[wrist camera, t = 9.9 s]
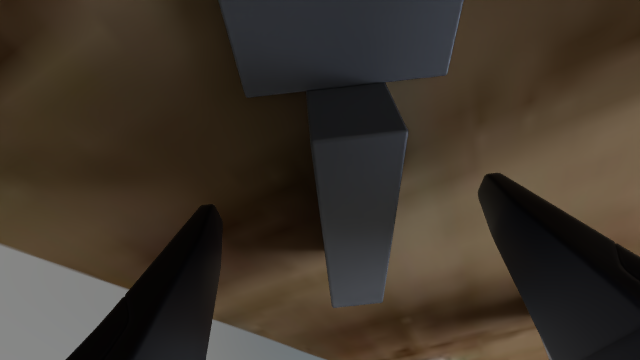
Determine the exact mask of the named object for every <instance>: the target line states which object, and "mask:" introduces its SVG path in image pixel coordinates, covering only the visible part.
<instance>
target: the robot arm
mask: <svg viewBox="0 0 640 360" xmlns="http://www.w3.org/2000/svg"><path fill="white" fill-rule="evenodd" d="M478 197H479V201H480V203H481V206H482V209H483V212H484V215H485V218H486V221H487V223H488V226H489V229H490V232H491V235H492V237H493V239H494V242H495V244H496V246H497V248H498V250H499V252H500V254H501V256H502V258H503V260H504V262H505V264H506V266H507V268H508V270H509V273H510V275H511V277H512V279H513V281H514V283H515V285H516V287H517V289H518V291H519V293H520V295H521V297H522V299H523V301H524V303H525V305H526V307H527V310H528V312H529V314H530V316H531V318H532V320H533V322H534V324H535V326H536V328H537V330H538V332H539V334H540V336H541V338H542V340H543V342H544V344H545V347H546V349H547V351H548V353H549V355H550V357H551V359H552V360H640V257H639V256H637V255H636V254H634V253H632V252H631V251H629V250H627V249H626V248H624V247H622V246H621V245H619V244H615V242H614V241H612V240H610V239H609V238H607V237H605V236H604V235H602V234H600V233H599V232H597V231H596V230H594V229H592V228H591V227H589V226H587V225H586V224H584V223H582V222H581V221H579V220H577V219H576V218H574V217H572V216H571V215H569V214H567V213H566V212H564V211H562V210H561V209H559V208H557V207H556V206H554V205H552V204H551V203H549V202H547V201H546V200H544V199H542V198H541V197H539V196H537V195H536V194H534V193H532V192H531V191H529V190H527V189H526V188H524V187H523V186H521V185H519V184H518V183H516V182H514V181H513V180H511V179H509V178H508V177H506V176H504V175H503V174H501V173H491V174H486V175H485V176H484V178H483V181H482V183H481V185H480V188H479V190H478ZM222 233H223V222H222V219H221V216H220V214H219V212H218V210H217V209H216V207H215V205H213V204H208V205H202V206H200V207H199V208H198V209H197V210H196V212H195V213H194V214H193V215H192V216H191V218H190V219H189V220H188V221H187V222H186V223H185V225H184V226H183V227H182V228H181V229H180V231H179V232H178V233H177V234H176V235H175V236H174V238H173V239H172V240H171V241H170V242H169V244H168V245H167V246H166V247H165V248H164V249H163V251H162V252H161V253H160V254H159V255H158V257H157V258H156V259H155V260H154V261H153V262H152V264H151V265H150V266H149V267H148V268H147V270H146V271H145V272H144V273H143V274H142V275H141V277H140V278H139V279H138V280H137V281H136V283H135V284H134V285H133V286H132V287H131V288H130V290H129V291H128V292H127V293H126V295H125V297H123V298H122V299H121V300H120V301H119V303H118V304H117V305H116V306H115V307H114V309H113V310H112V311H111V312H110V313H109V314H108V315H107V316H106V318H105V319H104V320H103V321H102V322H101V323H100V324H99V326H97V328H96V329H95V330H94V331H93V332H92V333H91V334H90V335H89V336H88V337H87V338H86V339H85V340H84V341H83V342H82V344H80V345H79V347H77V348H76V349H75V351H74V352H73V353H72V354H71V355H70V356H69V357H68V358H67V359H66V360H206V354H207V348H208V342H209V336H210V330H211V324H212V318H213V312H214V306H215V300H216V294H217V288H218V282H219V276H220V269H221V255H222Z"/></svg>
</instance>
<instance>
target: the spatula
mask: <svg viewBox="0 0 640 360" xmlns="http://www.w3.org/2000/svg"><path fill="white" fill-rule="evenodd" d="M218 2H219V5H220V9H221V12H222V16H223V19H224V23H225V27H226V30H227V34H228V37H229V41H230V44H231V48H232V51H233V55H234V58H235V62H236V65H237V69H238V72H239V76H240V79H241V83H242V86H243V90H244V93H245V96H246V97H247V98H249V97H258V96H267V95H276V94H285V93H294V92H303V91H306V97H307V109H308V121H309V133H310V144H311V152H312V160H313V167H314V175H315V182H316V190H317V197H318V205H319V213H320V220H321V228H322V235H323V243H324V250H325V258H326V266H327V273H328V281H329V288H330V296H331V303H332V307H333V308H337V307H346V306H356V305H365V304H374V303H382V302H383V296H384V290H385V283H386V277H387V270H388V263H389V257H390V250H391V244H392V237H393V230H394V224H395V217H396V211H397V204H398V197H399V191H400V184H401V178H402V171H403V164H404V158H405V151H406V145H407V138H408V129H407V127H406V125H405V123H404V121H403V119H402V117H401V115H400V113H399V111H398V109H397V106H396V104H395V102H394V100H393V98H392V96H391V94H390V92H389V90H388V88H387V86H386V84H385V82H392V81H401V80H410V79H419V78H428V77H437V76H445V75H447V73H448V68H449V64H450V59H451V55H452V50H453V46H454V42H455V37H456V33H457V28H458V24H459V19H460V15H461V10H462V6H463V2H464V0H218Z"/></svg>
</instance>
